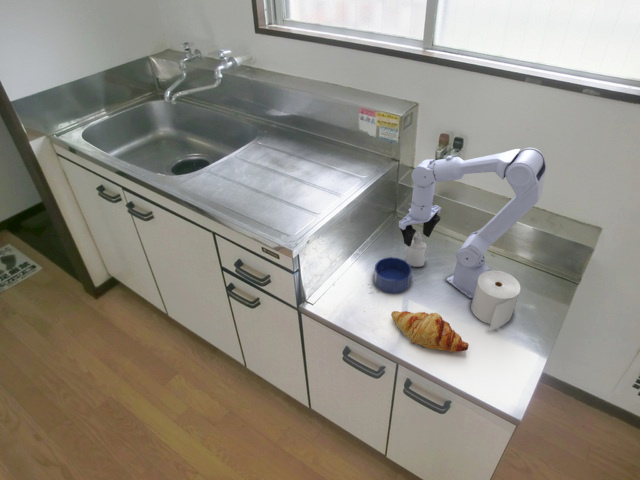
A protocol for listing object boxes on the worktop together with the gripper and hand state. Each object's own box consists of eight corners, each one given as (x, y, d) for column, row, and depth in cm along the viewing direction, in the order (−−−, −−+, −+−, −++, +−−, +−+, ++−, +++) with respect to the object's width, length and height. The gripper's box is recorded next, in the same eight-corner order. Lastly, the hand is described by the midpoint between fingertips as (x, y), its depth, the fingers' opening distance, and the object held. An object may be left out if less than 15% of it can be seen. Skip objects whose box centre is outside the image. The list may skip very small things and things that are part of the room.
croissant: (385, 333, 123) (379, 324, 116) (401, 301, 126) (396, 290, 119) (461, 368, 113) (459, 361, 106) (476, 333, 116) (476, 323, 109)
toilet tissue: (497, 293, 129) (505, 267, 123) (522, 324, 120) (532, 297, 114) (463, 300, 127) (470, 274, 121) (486, 332, 118) (494, 305, 112)
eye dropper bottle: (418, 270, 138) (423, 239, 130) (403, 263, 141) (406, 231, 133) (426, 263, 140) (431, 232, 133) (410, 256, 143) (414, 225, 136)
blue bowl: (417, 283, 133) (419, 271, 130) (390, 298, 129) (391, 286, 126) (393, 264, 140) (394, 252, 137) (366, 278, 136) (367, 266, 133)
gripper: (430, 187, 133) (425, 225, 141) (392, 203, 126) (389, 241, 135) (448, 197, 128) (441, 236, 136) (410, 214, 122) (405, 254, 130)
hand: (416, 239), depth 135 cm, fingers open, 7 cm apart
